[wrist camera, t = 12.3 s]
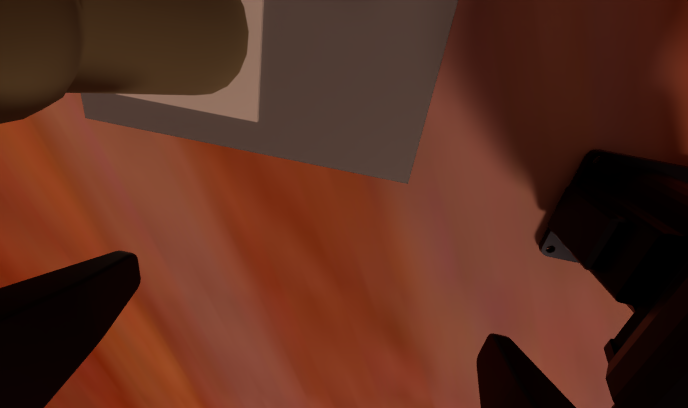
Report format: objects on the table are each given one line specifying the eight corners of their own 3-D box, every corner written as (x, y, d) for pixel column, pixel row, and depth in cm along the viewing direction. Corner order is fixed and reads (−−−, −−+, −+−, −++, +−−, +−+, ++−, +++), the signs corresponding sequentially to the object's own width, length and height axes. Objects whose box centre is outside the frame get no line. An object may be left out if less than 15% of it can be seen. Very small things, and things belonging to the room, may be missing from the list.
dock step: (469, -67, 14) (482, -87, 12) (406, 171, 19) (408, 185, 17) (76, -132, 15) (27, -160, 13) (113, 111, 20) (82, 118, 18)
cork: (98, 4, 15) (-465, -85, 5) (186, -91, 13) (-459, -537, 3) (185, 118, 17) (-108, 213, 7) (274, 49, 15) (41, 45, 5)
